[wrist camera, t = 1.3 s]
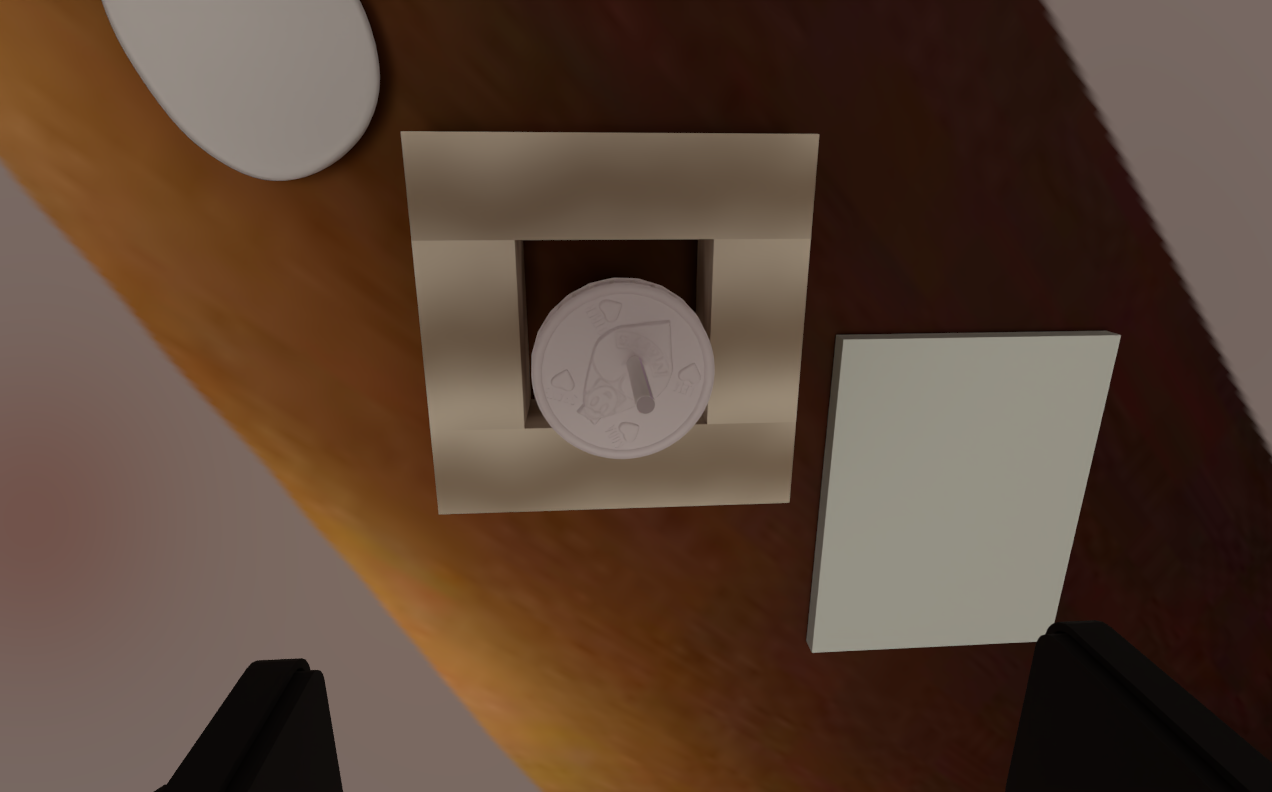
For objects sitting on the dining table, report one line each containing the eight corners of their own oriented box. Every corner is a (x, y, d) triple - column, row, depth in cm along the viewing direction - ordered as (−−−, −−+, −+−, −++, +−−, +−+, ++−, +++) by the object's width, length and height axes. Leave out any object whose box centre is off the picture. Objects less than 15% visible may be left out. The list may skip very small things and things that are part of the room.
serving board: (836, 334, 33) (843, 339, 32) (1105, 330, 34) (1121, 335, 33) (806, 640, 39) (811, 652, 38) (1038, 629, 40) (1049, 640, 39)
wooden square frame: (424, 136, 29) (400, 131, 25) (789, 138, 30) (819, 134, 26) (454, 476, 34) (438, 514, 30) (767, 467, 35) (789, 502, 31)
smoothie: (706, 308, 32) (792, 402, 19) (621, 407, 34) (645, 560, 20) (602, 219, 31) (617, 256, 18) (516, 327, 32) (470, 437, 19)
